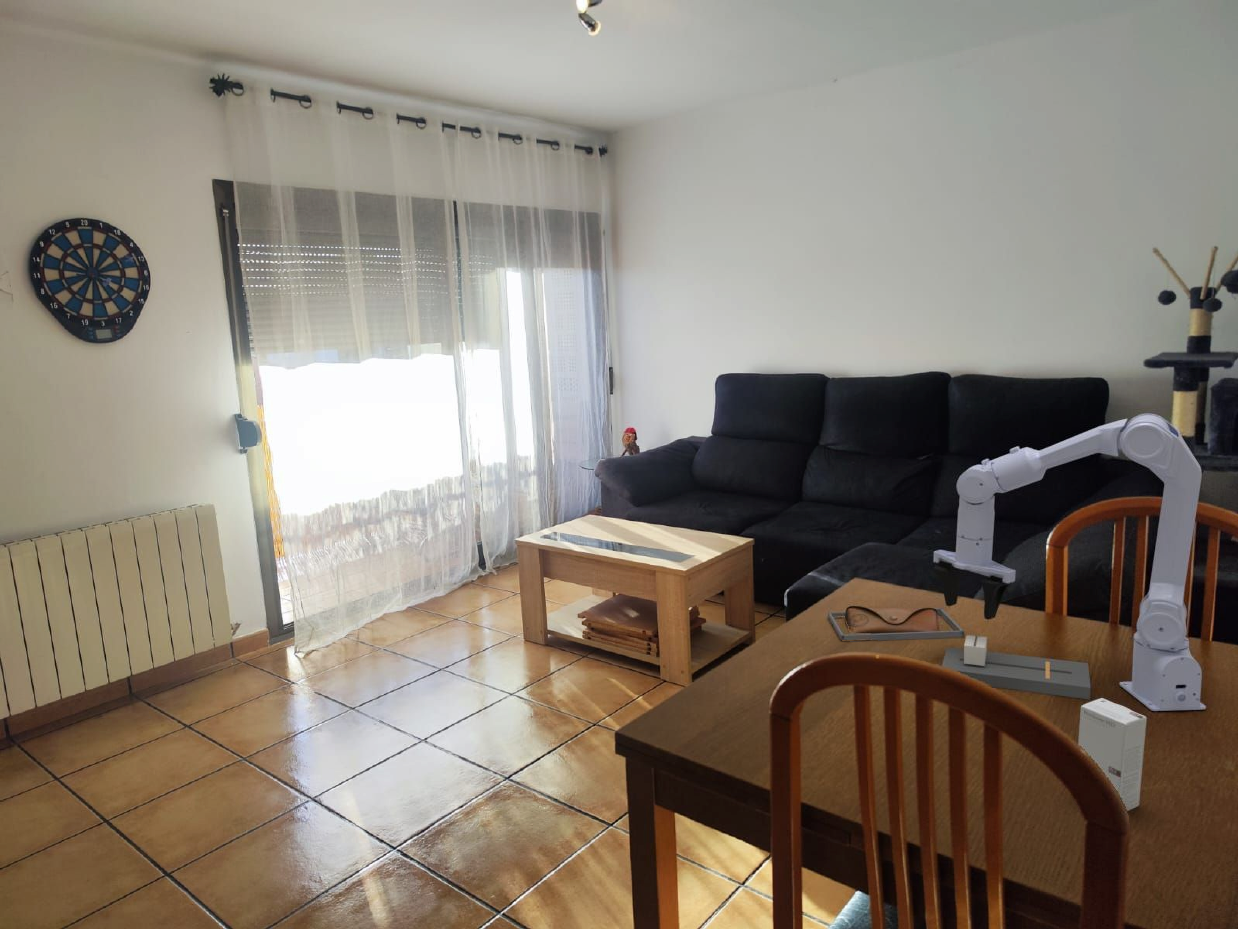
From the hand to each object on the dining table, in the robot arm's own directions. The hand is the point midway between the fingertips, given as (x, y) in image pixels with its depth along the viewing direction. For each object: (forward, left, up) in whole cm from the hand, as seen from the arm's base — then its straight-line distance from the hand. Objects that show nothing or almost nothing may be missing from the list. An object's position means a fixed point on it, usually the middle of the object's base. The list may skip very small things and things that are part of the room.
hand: (970, 611), depth 145 cm
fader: (-4, 0, -7) cm, 8 cm away
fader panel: (-6, -5, -10) cm, 12 cm away
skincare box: (-42, -2, -10) cm, 44 cm away
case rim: (+19, +8, -10) cm, 22 cm away
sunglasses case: (+18, +8, -10) cm, 22 cm away
